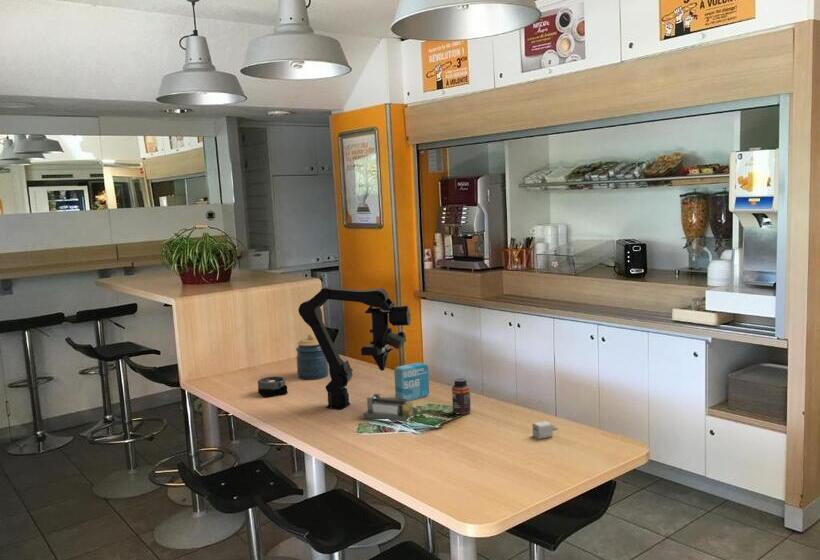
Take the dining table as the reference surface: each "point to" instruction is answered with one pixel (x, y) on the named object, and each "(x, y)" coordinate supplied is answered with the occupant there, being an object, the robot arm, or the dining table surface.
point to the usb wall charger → (543, 429)
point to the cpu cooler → (272, 386)
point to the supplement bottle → (461, 397)
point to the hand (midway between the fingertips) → (382, 370)
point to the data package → (412, 381)
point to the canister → (311, 359)
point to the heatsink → (388, 410)
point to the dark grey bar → (389, 399)
